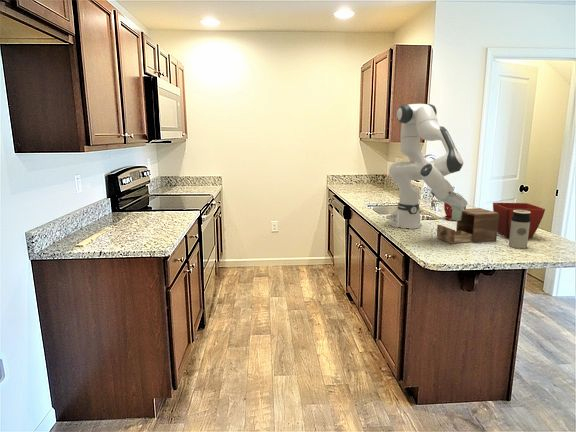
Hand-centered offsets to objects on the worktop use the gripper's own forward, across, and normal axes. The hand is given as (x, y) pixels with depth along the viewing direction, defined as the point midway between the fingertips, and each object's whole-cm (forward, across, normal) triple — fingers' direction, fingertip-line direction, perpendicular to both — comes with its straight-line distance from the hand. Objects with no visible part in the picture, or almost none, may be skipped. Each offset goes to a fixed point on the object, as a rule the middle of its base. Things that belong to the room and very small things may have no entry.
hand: (458, 208), depth 207 cm
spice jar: (+4, 0, +5) cm, 6 cm away
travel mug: (+28, -18, -4) cm, 33 cm away
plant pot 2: (+39, 0, -14) cm, 41 cm away
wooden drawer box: (+21, 0, +4) cm, 21 cm away
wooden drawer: (+11, 0, +13) cm, 17 cm away
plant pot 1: (+35, +44, -9) cm, 57 cm away
